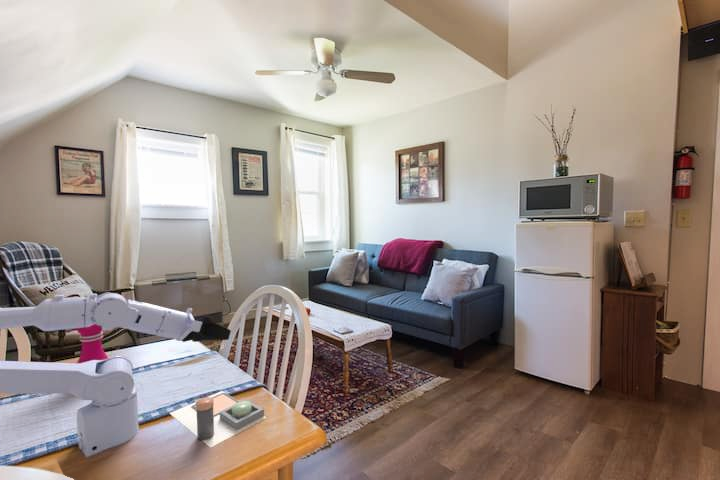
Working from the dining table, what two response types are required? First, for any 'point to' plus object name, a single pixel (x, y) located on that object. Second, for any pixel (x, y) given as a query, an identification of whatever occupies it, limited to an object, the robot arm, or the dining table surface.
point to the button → (241, 409)
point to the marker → (205, 418)
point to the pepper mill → (91, 344)
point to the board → (220, 418)
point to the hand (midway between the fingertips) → (223, 335)
